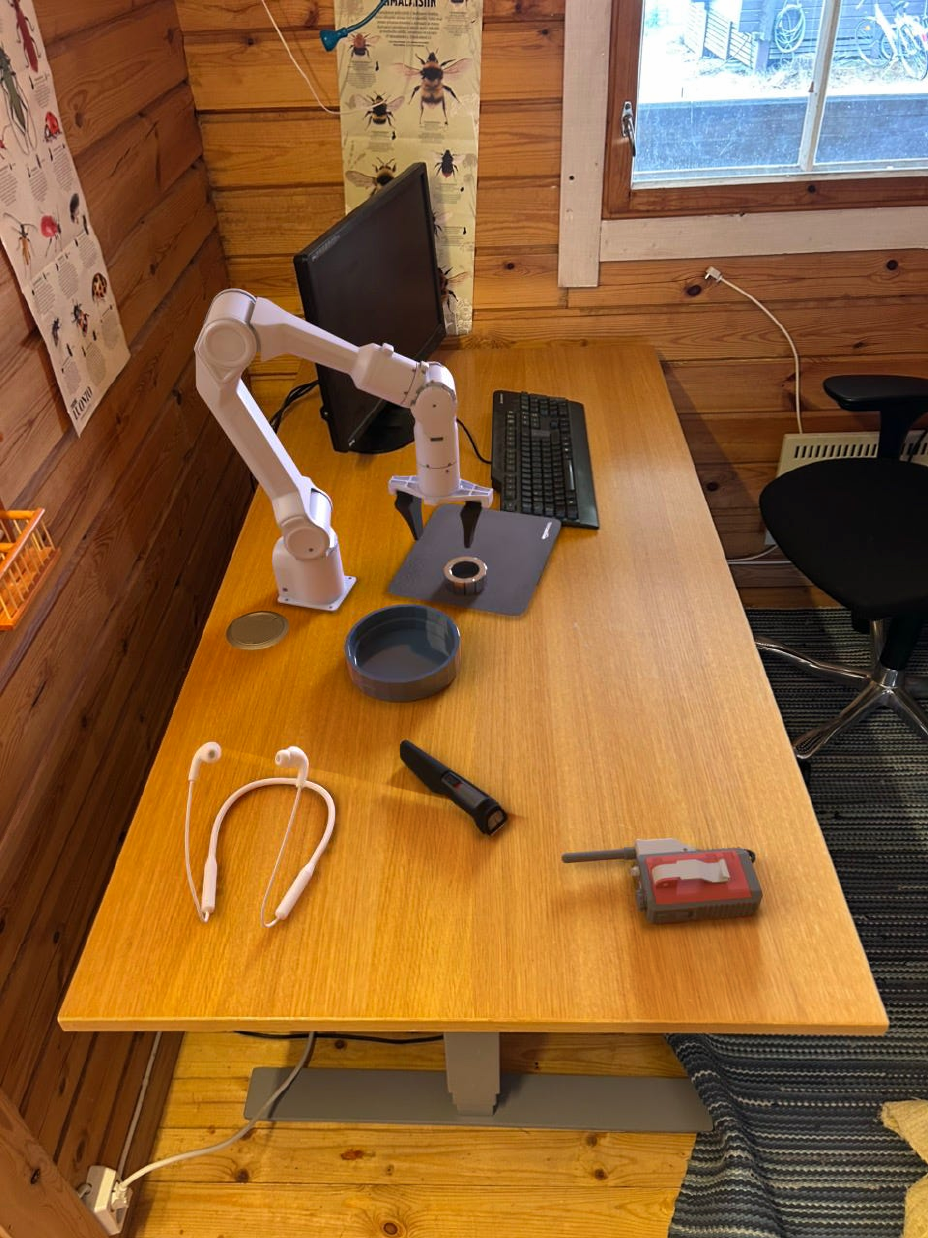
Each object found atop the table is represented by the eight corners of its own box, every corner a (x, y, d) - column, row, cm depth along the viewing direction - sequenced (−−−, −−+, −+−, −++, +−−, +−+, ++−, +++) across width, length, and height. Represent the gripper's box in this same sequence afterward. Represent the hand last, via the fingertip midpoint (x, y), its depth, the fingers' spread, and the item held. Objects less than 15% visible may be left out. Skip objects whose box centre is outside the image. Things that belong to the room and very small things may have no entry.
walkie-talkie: (745, 842, 92) (559, 857, 92) (752, 817, 90) (560, 832, 89) (771, 917, 86) (572, 933, 86) (780, 893, 83) (573, 909, 83)
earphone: (158, 926, 84) (176, 740, 87) (223, 897, 100) (237, 741, 103) (293, 937, 82) (308, 747, 85) (336, 906, 99) (348, 748, 101)
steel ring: (439, 592, 126) (438, 579, 125) (452, 567, 131) (451, 553, 129) (479, 599, 125) (479, 585, 123) (491, 573, 129) (491, 560, 127)
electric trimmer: (417, 747, 105) (414, 730, 103) (510, 819, 96) (509, 801, 94) (393, 765, 103) (390, 748, 101) (486, 840, 94) (485, 822, 92)
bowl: (330, 692, 112) (325, 670, 110) (374, 617, 123) (370, 596, 121) (440, 714, 109) (438, 692, 106) (475, 635, 119) (474, 614, 117)
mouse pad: (522, 619, 121) (522, 618, 121) (384, 594, 127) (384, 593, 127) (563, 520, 139) (563, 519, 139) (440, 502, 144) (440, 501, 144)
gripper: (376, 466, 114) (386, 548, 123) (481, 480, 110) (483, 564, 119) (395, 439, 119) (404, 521, 128) (496, 452, 115) (498, 535, 124)
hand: (443, 540), depth 124 cm, fingers open, 7 cm apart
